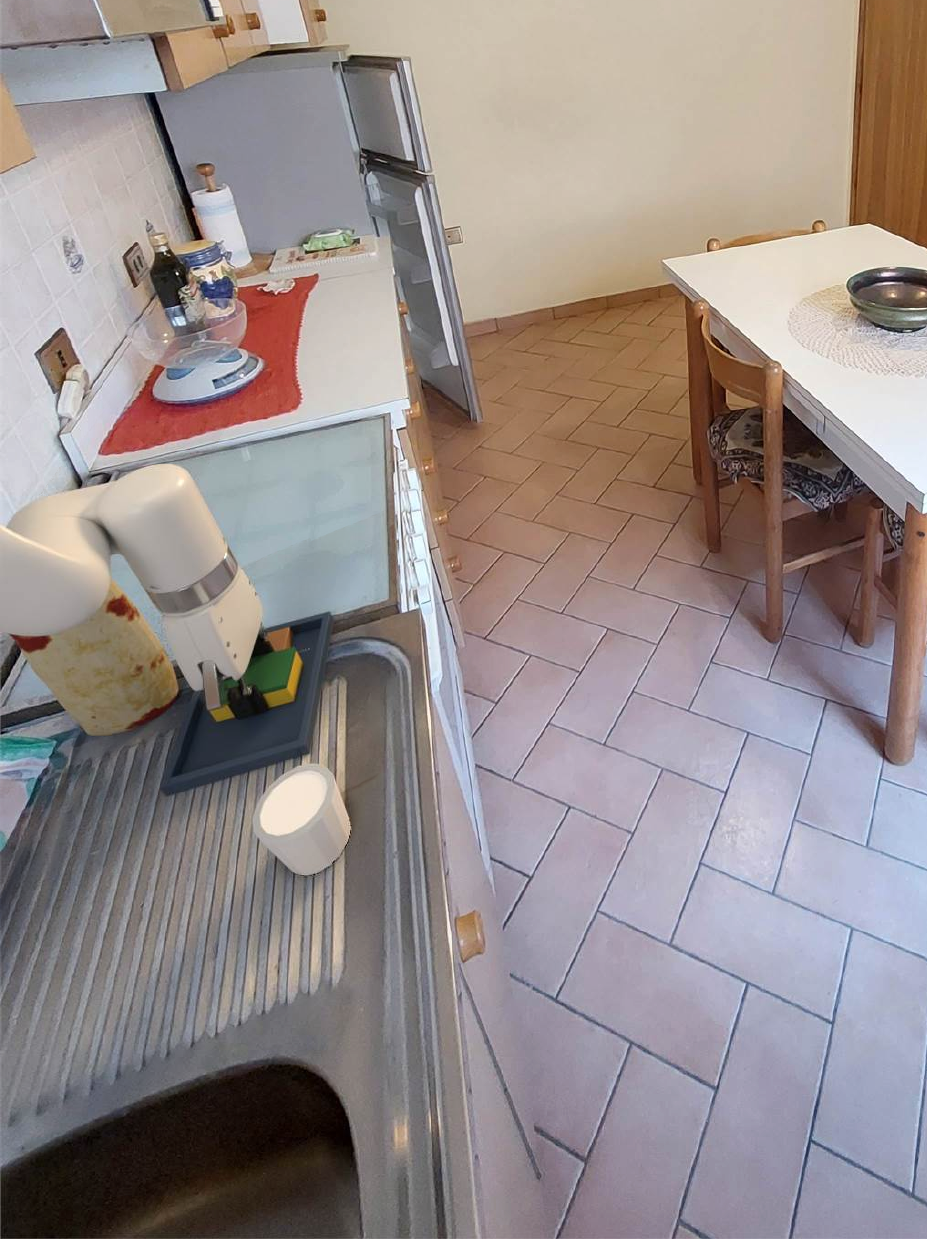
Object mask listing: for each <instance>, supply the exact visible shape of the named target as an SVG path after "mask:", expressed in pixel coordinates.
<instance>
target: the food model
mask: <svg viewBox="0 0 927 1239" xmlns="http://www.w3.org/2000/svg"><path fill="white" fill-rule="evenodd" d="M9 636H10V637H11V638H12V639H13V640H14V641H15V643H16V644H17V646H18V647H19V649H20V651H21V653H22V655H23V657H24V658H25V660H26V661H27V663H28V664H29V666H30V668H31V669H32V670H33V672H34V673H35V674H36V676H37V677H38V678H39V679H40V680H41V681H42V683H44V684H45V686H46V687H47V688H48V689H49V690H50V692H51V693H52V694H53V697H55V699H56V701H58V703H59V704H60V705H61V707H62V708H63V709H64V710H65V711H66V712H67V713H68V714H69V715H70V716H71V717H72V718H73V719H74V720H76V722H77V723H78V724H79V725H80V726H81V728H82V729H83V731H84V732H85V733H86V734H87V735H89V736H92V737H93V736H94V737H100V736H102V737H103V736H110V735H116V734H120V733H124V732H128V731H131V730H134V729H136V728H138V727H141V726H143V725H145V724H147V723H148V722H151V721H152V720H155V719H157V718H159V717H160V716H162V714H164V713H165V712H166V711H168V710H169V709H170V708H171V707H172V706H173V705H174V704H175V701H176V700H177V697H178V694H179V685H178V680H177V676H176V672H175V669H174V666H173V663H172V661H171V659H170V658H169V655H168V654H167V652H166V650H165V647H164V646H163V644H162V643H161V641H160V639H159V638H158V636H157V635H156V633H155V631H154V630H153V629H152V627H151V626H150V624H149V623H148V622H147V620H146V619H145V618H144V616H143V615H142V613H141V611H140V610H139V609H138V607H137V606H136V605H135V603H133V601H132V600H131V598H129V597H128V596H127V595H126V593H125V592H124V591H123V589H121V587H120V586H119V585H118V584H117V583H116V582H115V581H114V579H113V578H112V576H110V587H109V591H108V594H107V597H106V599H105V600H104V602H103V604H102V605H101V607H100V608H99V609H98V610H97V611H96V613H95V614H94V615H93V616H91V617H90V618H89V619H88V620H86V621H85V622H84V623H82V624H80V625H78V626H76V627H75V628H72V629H70V630H67V631H64V632H62V633H57V634H53V635H45V636H20V635H13V634H9Z"/></svg>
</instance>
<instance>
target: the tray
mask: <svg viewBox="0 0 927 1239" xmlns="http://www.w3.org/2000/svg"><path fill="white" fill-rule="evenodd" d="M334 623H335V619H334V616H333V614H332V612H331V611H326V612H322V613H318V614H314V615H311V616H307V617H303V618H300V619H296V620H292V621H288V622H284V623H280V624H277V625H273V626H269V627H264V628H265V629H266V630H267V632H268V633H269V632H273V631H276V630H280V629H284V628H287V627H290V629H291V631H292V633H293V639H292V644H291V647H295V649H296V651H297V652H299V653H300V651H302V649H303V650H305V649H307V650H308V648H310V652H309V651H307V652H306V651H305V652H304V653H303V651H302V654H301V655H300V654H298V655H299V657H300V659H301V661H302V662H303V665H302V670H301V674H300V678H299V682H298V687H297V691H296V695H295V699H294V701H293V702H289V703H286V704H282V705H278V706H274V707H271V708H268V710H267V712H266V713H263V714H259V715H255V716H252V717H248V718H244V719H240V720H238V719H236V718H235V717H234V718H230V719H226V720H223V721H219V722H216V720H215V719H214V717H213V716H212V714H211V712H210V711H208V710H207V707H206V697H205V688H204V690H200V691H195V690H193V692H192V694H191V698H190V701H189V703H188V705H187V709H186V711H185V713H184V716H183V717H184V718H183V721H182V723H181V726H180V728H179V732H178V733H177V738H176V740H175V743H174V746H173V748H172V751H171V754H170V757H169V760H168V763H167V766H166V767H165V771H164V774H163V777H162V779H161V783H160V785H159V789H160V790H161V792H162V793H163V794H164V796H165V797H170V796H172V795H176V794H180V793H182V792H186V791H189V790H193V789H196V788H200V787H203V786H206V785H210V784H213V783H217V782H220V781H223V780H226V779H230V778H234V777H236V776H240V775H243V774H246V773H249V772H253V771H256V770H260V769H263V768H267V767H269V766H273V765H276V764H279V763H284V762H286V761H290V760H294V759H297V758H299V757H300V758H301V757H303V756H306V755H309V754H310V753H311V751H312V750H311V749H312V743H313V738H314V733H315V729H316V728H315V727H316V722H317V716H318V711H319V706H320V700H321V695H322V688H323V683H324V677H325V671H326V666H327V663H328V655H329V651H330V645H331V640H332V633H333V629H334V628H333V627H334Z"/></svg>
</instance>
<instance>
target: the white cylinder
mask: <svg viewBox="0 0 927 1239" xmlns="http://www.w3.org/2000/svg"><path fill="white" fill-rule="evenodd" d="M251 819H252V831H253V834H254V835H255V836H256V837H257V838H258V840H259V841H260V842H261V843H262V844H263V845H264V846H265V847H266V848H267V849H268V850H269V851H270V852H271V853H272V854H273V855H274V856H275V857H276V858H277V859H278V860H279V861H280V862H282V864H284V865H285V866H286V867H287V869H288V870H290V871H291V873H293V872H294V873H298V874H301V875H308V874H314V873H317V872H318V871H320V870H322V869H324V868H326V867H328V866H329V865H331V864H332V862H333V861H334V860H335V859H336V857H338V856H339V854H340V853H341V851H342V850H343V849H344V847H345V845H346V844H347V842H348V839H349V835H350V836H351V834H350V830H351V831H352V826H350V825H351V821H349V820H350V817H349V814H348V811H347V808H346V806H345V803H344V800H343V798H342V795H341V792H340V788H339V787H338V783H337V781H336V778H335V775H334V773H333V772H332V771H331V770H330V769H329V768H328V767H327V766H326V765H325V764H319V763H314V762H312V763H307V764H301V765H297V766H295V767H293V768H292V769H290V770H288V771H286V772H285V773H283V774H281V775H280V776H279V777H278V778H276V779H275V780H274V782H272V783H271V784H270V785H269V786H268V787H267V788H266V790H265V791H264V792H263V794H262V796H261V797H260V798H259V800H258V801H257V802H256V806H255V809H254V811H253V815H252V817H251ZM349 840H350V839H349ZM347 845H348V844H347ZM332 865H333V864H332ZM332 865H331V866H332ZM294 873H293V874H294Z"/></svg>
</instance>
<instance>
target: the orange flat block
mask: <svg viewBox="0 0 927 1239" xmlns="http://www.w3.org/2000/svg"><path fill="white" fill-rule="evenodd" d="M292 639H293V633H292V631H291V629H290V627H287V628H284V629H280V630H276V631H273V632H269V633H268V638H267V640H265V641H270V643H271V645H272V647H273V648H274V650H275V652H276V651H279V650H283V649H287V648H291V644H292Z"/></svg>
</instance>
